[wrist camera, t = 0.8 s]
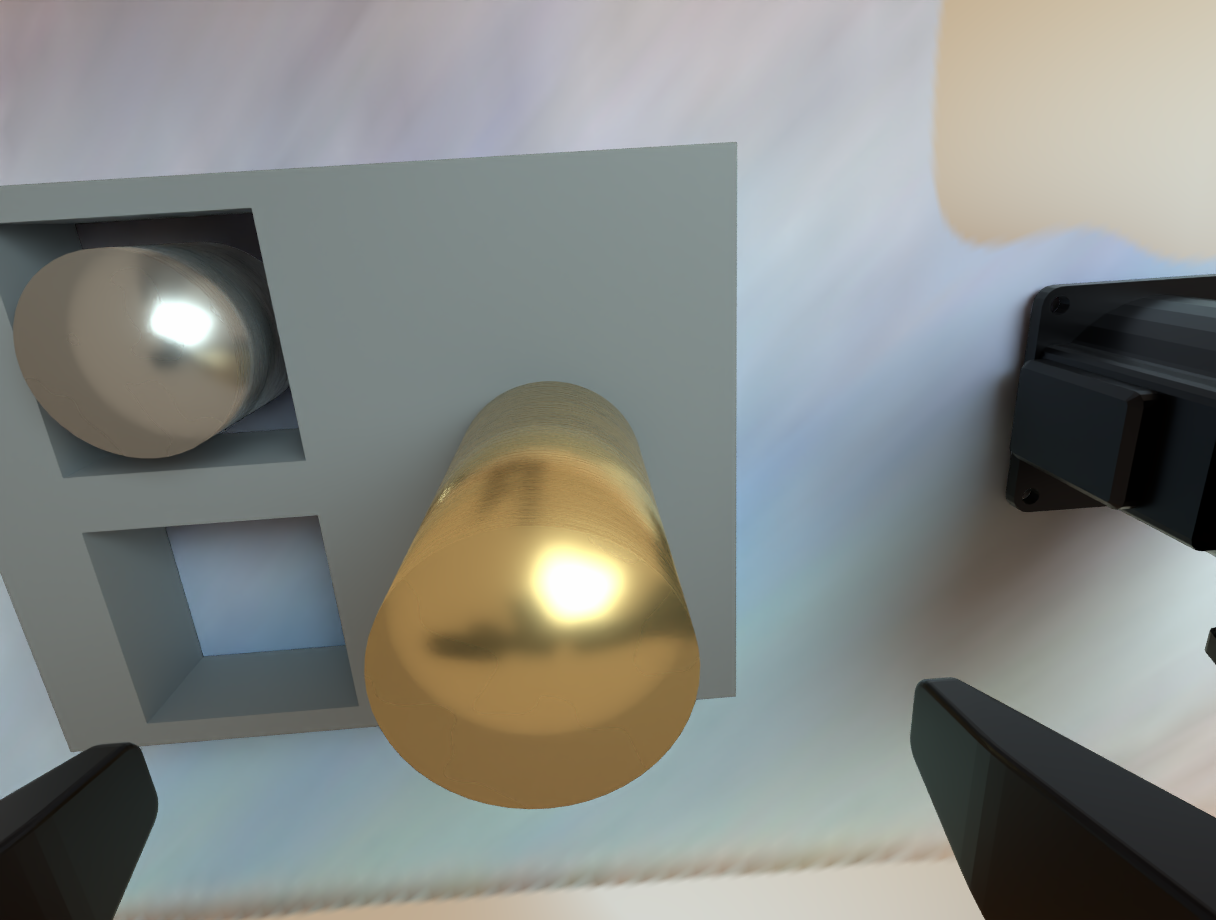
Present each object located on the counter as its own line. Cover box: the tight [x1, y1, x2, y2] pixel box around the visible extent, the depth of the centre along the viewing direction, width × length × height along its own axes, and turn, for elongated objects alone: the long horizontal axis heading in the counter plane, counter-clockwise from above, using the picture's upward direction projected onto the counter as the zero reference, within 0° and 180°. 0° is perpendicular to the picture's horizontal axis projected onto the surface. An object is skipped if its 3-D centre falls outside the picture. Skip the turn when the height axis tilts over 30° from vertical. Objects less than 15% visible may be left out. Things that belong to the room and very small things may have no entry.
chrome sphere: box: [13, 242, 290, 458], centre depth 16 cm, size 4×4×4 cm
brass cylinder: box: [364, 381, 700, 809], centre depth 13 cm, size 4×4×8 cm
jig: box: [0, 142, 737, 752], centre depth 18 cm, size 18×14×3 cm
